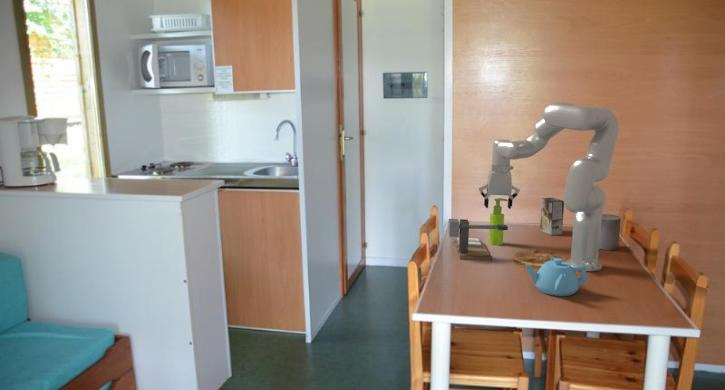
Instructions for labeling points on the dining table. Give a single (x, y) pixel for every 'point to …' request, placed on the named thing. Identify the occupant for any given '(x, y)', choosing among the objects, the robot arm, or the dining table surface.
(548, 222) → the coffee box
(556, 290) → the teapot
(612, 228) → the pillar candle
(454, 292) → the dining table surface
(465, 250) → the base
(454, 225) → the lever
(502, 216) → the soap dispenser
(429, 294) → the dining table surface
